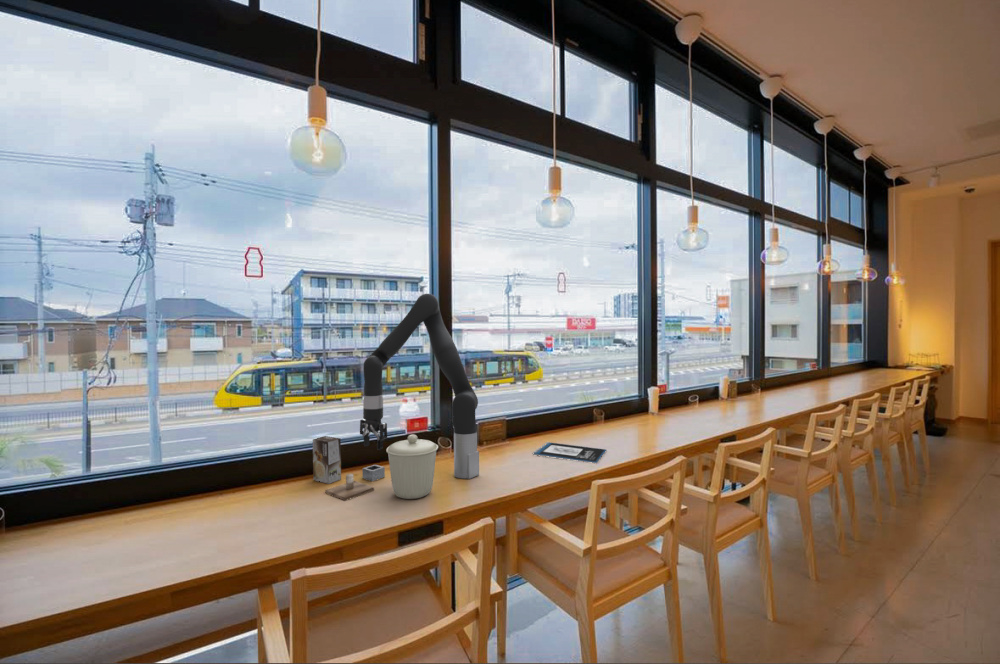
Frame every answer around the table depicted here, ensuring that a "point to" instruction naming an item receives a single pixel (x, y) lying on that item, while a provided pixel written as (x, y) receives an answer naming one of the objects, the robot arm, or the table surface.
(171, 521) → the table surface
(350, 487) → the post stand
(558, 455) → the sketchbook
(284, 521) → the table surface
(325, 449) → the coffee box
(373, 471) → the collar
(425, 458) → the canister
